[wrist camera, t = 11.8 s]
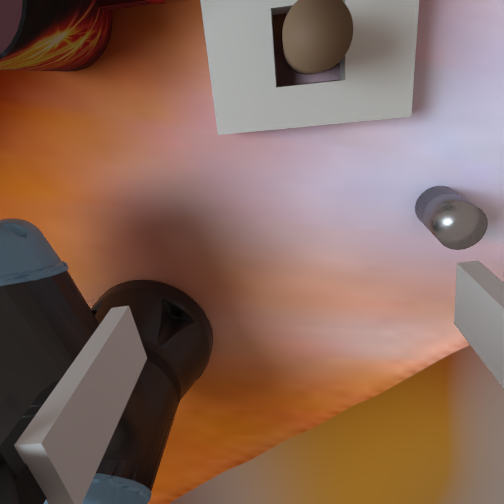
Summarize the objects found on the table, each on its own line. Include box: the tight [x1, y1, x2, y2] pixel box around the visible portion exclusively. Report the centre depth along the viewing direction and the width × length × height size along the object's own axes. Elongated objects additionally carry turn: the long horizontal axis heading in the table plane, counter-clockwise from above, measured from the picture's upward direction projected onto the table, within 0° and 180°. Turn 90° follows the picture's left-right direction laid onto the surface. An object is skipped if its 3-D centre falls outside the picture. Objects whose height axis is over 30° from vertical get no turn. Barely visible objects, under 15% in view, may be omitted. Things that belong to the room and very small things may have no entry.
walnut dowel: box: [282, 0, 353, 74], centre depth 27 cm, size 4×4×12 cm
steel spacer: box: [415, 186, 488, 250], centre depth 35 cm, size 4×4×6 cm
